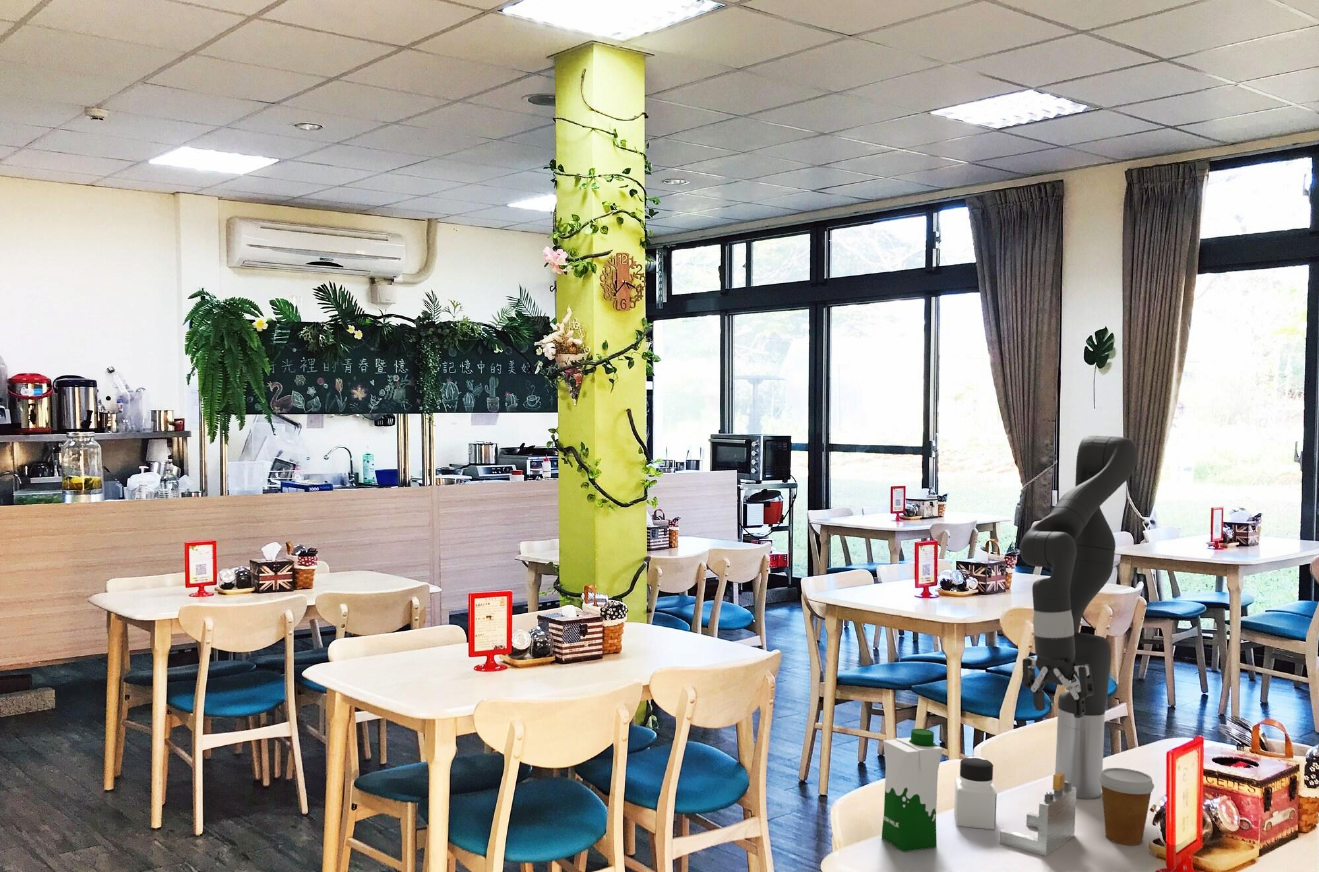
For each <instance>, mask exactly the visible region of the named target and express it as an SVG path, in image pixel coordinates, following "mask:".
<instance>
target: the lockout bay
mask: <svg viewBox="0 0 1319 872" xmlns="http://www.w3.org/2000/svg"><path fill="white" fill-rule="evenodd" d="M1052 776H1053V777H1052V790H1053V792H1052V791H1046V793H1045V794H1044V800H1042V801H1041V802H1039V805H1038V813H1036V812H1031V811H1030V812H1028V813H1026V820H1025V821H1026V826H1027V827H1030V828H1034V829H1037V837H1034V836H1032V835H1027V834H1023V833H1021V832H1017V831H1013V830H1010V829H1009V830H1008V829H1005V828H1002V829H1001V830H999V844H1001V843H1002V845H1006V846H1009V847H1012V848H1016V849H1020V850H1024V851H1026V852H1030V853H1033V854H1036V855H1042V856H1044V857H1046V856H1049V854H1051V853H1053V851H1055V850H1057V849H1058V848H1059V847H1061V845H1062V846H1063V844H1065V843H1066V842H1067V841H1068V840H1070V839H1072V838H1073V837H1074V836H1075V829H1076V828H1075V827H1076V826H1075V825H1076V806H1077V805H1076V804H1077V798H1076V787H1072V783H1070V781H1065V774H1063V773H1059V772H1058V773H1056V774H1055V773H1054V774H1053V775H1052ZM1064 781H1065V783H1064Z"/></svg>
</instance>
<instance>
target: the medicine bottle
mask: <svg viewBox="0 0 1319 872" xmlns="http://www.w3.org/2000/svg"><path fill="white" fill-rule="evenodd" d="M959 763H960V764H959V777H957V778H955V782H954V784H955V785H954V786H955V787H954V805H953V806H954V807H953V808H954V810H953V814H954V820H955V825H956V826H957V827H962V828H973V829H982V830H991V831H994V830H996V823H997V822H996V818H997V795H998V794H997V790H996V787H995V784H994V782H993V781H994V780H993V779H994V777H993V776H994V775H993V774H994V764H993V763H992V762H991V761H990V760H988V759H986V758H984V757H978V756H967V757H964V758H962V759H961V760H960V762H959Z"/></svg>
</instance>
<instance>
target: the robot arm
mask: <svg viewBox="0 0 1319 872" xmlns="http://www.w3.org/2000/svg"><path fill="white" fill-rule="evenodd" d="M1137 460H1138V451H1137V447H1136V445H1135V443H1134V442H1133V440H1131V439H1130V438H1128V437H1123V436H1113V435H1112V436H1111V435H1110V436H1109V435H1108V436H1107V435H1087V436H1084V437H1083V438H1082V439H1081V441H1080V443H1079V445H1078V449H1077V454H1076V463H1075V464H1076V465H1075V485H1074V487H1073V488H1071V489H1069V490H1068V491H1067V492H1065V493H1064V494H1063V495H1061V496H1060V498H1059V499H1058V501H1057V502H1056V504H1055V506H1054V507H1053V508H1052V510H1051V512H1050V513H1049V514H1048V515H1047V516H1045V517H1043V518H1042V519H1041V520H1039V521H1038V522H1037V523H1036V524H1035V525H1033V526H1032V527H1030V528H1029V529H1028V530H1027V531H1026V533H1025V534H1024V535H1023V537H1022V539H1021V542H1020V545H1019V554H1020V557H1021V559H1022V561H1023V562H1024V563H1025V564H1026V565H1028V566H1031V567H1038V568H1040V567H1041V568H1052V571H1051V574H1050V577H1045V578H1040V579H1037V580H1035V581H1034V582H1033V583H1032V588H1031V589H1032V591H1031V592H1032V603H1033V605H1032V606H1033V617H1032V624H1033V639H1034V653H1035V656H1036V658H1035V657H1034V656H1028V657H1025V658H1023V659H1022V686H1023V688H1028V689H1029V690H1031V691H1032V695H1033V696H1032V699H1033V706H1034V708H1035V711H1037V712H1042V711H1045V709H1046V699H1045V697H1046V696H1045V690H1043V689H1044V688H1045V686H1046V685H1047V684H1055V685H1058V686H1063V687H1064V688H1065V690H1067V691H1064V692H1062V693H1060V694H1059V695H1058V700H1057V724H1056V743H1055V744H1056V746H1055V747H1056V748H1055V749H1056V750H1055V752H1056V754H1055V769H1054V770H1055V771H1054V775H1055V774H1056V773H1058V772H1059V773H1063V774H1065V781H1070V783H1072V787H1076V799H1089V800H1090V799H1091V800H1092V799H1098V798H1100V797H1102V786H1101V783H1100V780H1099V777H1100V776H1101V773H1102V770H1104V769H1103V768H1104V767H1103V766H1104V765H1103V763H1104V745H1105V743H1104V742H1105V741H1104V740H1105V739H1104V738H1105V716H1106V715H1105V714H1106V704H1107V700H1108V696H1109V695H1108V694H1109V682H1110V670H1111V662H1112V651H1111V650H1112V649H1111V646H1110V642H1109V640H1108V639H1107V638H1105V637H1104V636H1102V635H1101V636H1100V635H1096V634H1091V633H1083V632H1079V631H1080V626H1081V621H1082V618H1083V615H1084V613H1085V611H1086V609H1087V607H1088V606H1089V604H1090V603H1091V602H1092V601H1093V599H1094V598H1095V597H1096V596H1097V595H1098V593H1100V591H1101V590H1102V589H1103V588H1104V587H1105V585H1106V584H1107V582H1108V581H1109V580H1110V578H1111V576H1112V573H1113V571H1114V569H1113V568H1114V563H1115V556H1116V555H1115V552H1116V539H1115V536H1114V533H1113V531H1112V529H1111V526H1110V525H1109V523H1108V521H1107V519H1106V517H1105V515H1104V514H1103V513H1104V512H1103V511H1102V509H1101V506H1102V505H1103V504H1104V503H1105V502H1106V501H1107V500H1108V499H1109V498H1110V497H1111V496H1112V495H1113V494H1114V493H1116V491H1117V490H1118V489H1119V488H1120V487H1122V485H1123V484H1124V483H1125V482H1126V481H1128V479H1129V478H1130V477H1131V476H1132V475H1133V473H1134V470H1135V467H1136V465H1137ZM1036 669H1037V670H1038V672H1039V673H1038V675H1037V676H1036ZM1065 781H1064V783H1065Z"/></svg>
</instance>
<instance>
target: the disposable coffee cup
mask: <svg viewBox="0 0 1319 872" xmlns="http://www.w3.org/2000/svg"><path fill="white" fill-rule="evenodd" d="M1099 780H1100V783H1101V786H1102V792H1101V797H1102V805H1103V806H1102V808H1103V818H1104V819H1103V821H1104V831H1105V837H1106V839H1107V840H1109V841H1111V842H1113V843H1116V844H1120V845H1125V846H1139V845H1141V844H1142V843H1143V837H1144V834H1145V828H1146V823H1147V818H1148V812H1149V806H1150V802H1151V801H1150V800H1151V794H1152V792H1153V790H1154V788H1155V784H1154V783H1153V778H1152V777H1151V776H1150V775H1149V774H1148V773H1145V772H1143V771H1139V770H1134V769H1130V768H1123V767H1108V768H1107V767H1106V768H1105V769H1103V770H1102V773H1101V776H1100V777H1099Z"/></svg>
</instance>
